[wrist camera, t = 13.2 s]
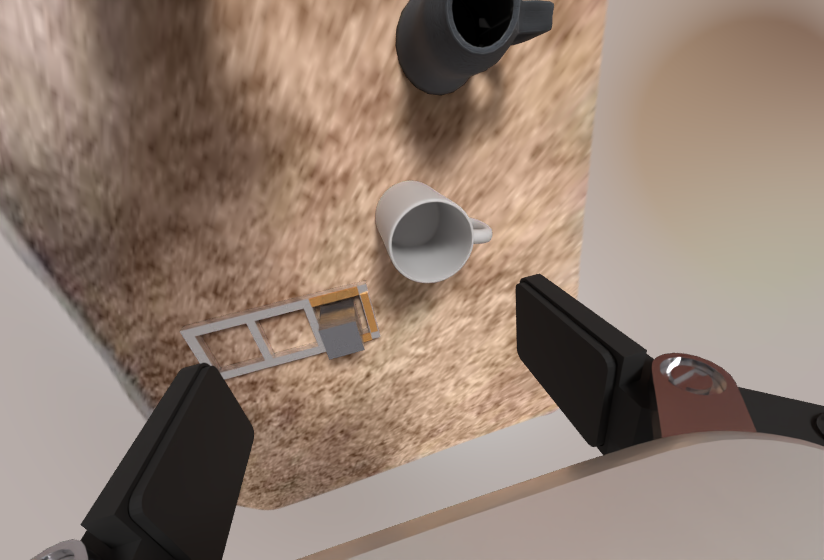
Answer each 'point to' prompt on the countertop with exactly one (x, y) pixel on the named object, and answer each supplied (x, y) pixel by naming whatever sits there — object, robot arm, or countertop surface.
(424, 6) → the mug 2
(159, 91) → the countertop surface
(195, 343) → the grey flat frame
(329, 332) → the grey rectangular block
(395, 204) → the mug
